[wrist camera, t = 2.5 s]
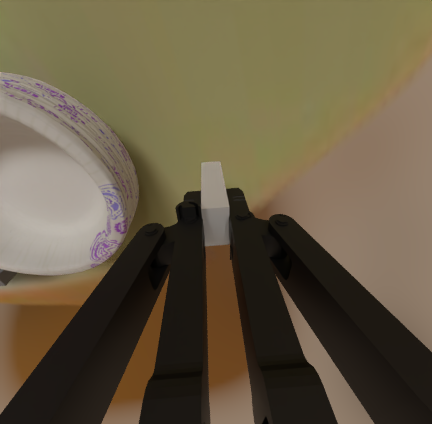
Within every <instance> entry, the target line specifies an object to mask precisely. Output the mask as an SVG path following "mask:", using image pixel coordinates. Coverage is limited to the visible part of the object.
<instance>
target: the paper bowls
mask: <svg viewBox="0 0 432 424" xmlns="http://www.w3.org/2000/svg"><path fill="white" fill-rule="evenodd" d="M138 200H139V184H138V178H137V174H136V170H135V167H134V165H133V162H132V160H131V158H130V156H129V153H128V152H127V150H126V149H125V147H124V145H123V143H122V142H121V141H120V139H119V138H118V137H117V135H116V134H115V132H113V131H112V129H111V128H110V127H109V126H108V125H107V124H106V123H105V122H103V121H102V120H101V119H100V118H99V117H98V116H97V115H96V114H95V113H94V112H92V111H91V110H90V109H89V108H87V107H86V106H84V105H83V104H82V103H80V102H79V101H78V100H76V99H74V98H73V97H71V96H70V95H68V94H67V93H65V92H63V91H61V90H59V89H57V88H55V87H53V86H51V85H49V84H47V83H45V82H43V81H40V80H37V79H34V78H31V77H27V76H22V75H18V74H13V73H6V72H0V269H3V270H7V271H12V272H18V273H24V274H33V275H65V274H72V273H77V272H82V271H85V270H88V269H91V268H94V267H96V266H98V265H100V264H101V263H103V262H105V261H106V260H107V259H109V258H110V257H111V256H112V255H113V254H114V253H115V252H116V251H117V250H118V248H119V247H120V246H121V244H122V243H123V241H124V239H125V237H126V234H127V232H128V229H129V227H130V224H131V222H132V220H133V217H134V215H135V212H136V209H137V204H138Z"/></svg>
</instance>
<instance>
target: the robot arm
mask: <svg viewBox="0 0 432 424" xmlns="http://www.w3.org/2000/svg"><path fill="white" fill-rule="evenodd" d="M176 213H177V218H178V222H177V223H176V224H174V225H172V226H170V227H166V228H164V227H163V226H162V225H161V224H158V223H151V224H147V225H145V226H143V227H142V228H141V229H140V230H139V231H138V232H137V234H136V235H135V236H134V238H133V239H132V240H131V242H130V243H129V244H128V246H127V247H126V248H125V250H124V251H123V252H122V254H121V255H120V256H119V258H118V259H117V260H116V262H115V263H114V264H113V266H112V267H111V268H110V270H109V271H108V272H107V274H106V275H105V276H104V278H103V279H102V280H101V282H100V283H99V284H98V286H97V287H96V288H95V290H94V291H93V292H92V294H91V295H90V296H89V298H88V299H87V300H86V301H85V303H84V304H83V305H82V307H81V308H80V309H79V311H78V312H77V313H76V315H75V316H74V317H73V319H72V320H71V321H70V323H69V324H68V325H67V327H66V328H65V329H64V331H63V332H62V334H61V335H60V336H59V337H58V339H57V340H56V341H55V343H54V344H53V345H52V347H51V348H50V349H49V351H48V352H47V353H46V355H45V356H44V357H43V359H42V360H41V362H40V363H39V364H38V365H37V367H36V368H35V369H34V371H33V372H32V373H31V375H30V376H29V377H28V379H27V380H26V381H25V383H24V384H23V386H22V387H21V388H20V389H19V391H18V392H17V393H16V394H15V396H14V397H13V398H12V400H11V401H10V402H9V404H8V405H7V406H6V408H5V409H4V410H3V412H2V413H1V414H0V424H101V423H102V421H103V418H104V416H105V414H106V412H107V409H108V407H109V405H110V403H111V401H112V398H113V396H114V394H115V392H116V389H117V387H118V384H119V383H120V381H121V378H122V376H123V374H124V372H125V369H126V367H127V365H128V363H129V361H130V358H131V356H132V354H133V352H134V349H135V347H136V345H137V343H138V340H139V338H140V336H141V334H142V332H143V329H144V327H145V325H146V323H147V320H148V318H149V316H150V314H151V312H152V309H153V307H154V305H155V303H156V300H157V298H158V296H159V294H160V292H161V289H162V287H163V285H164V283H165V280H166V278H167V276H168V274H169V272H170V274H169V281H168V287H167V293H166V300H165V306H164V312H163V319H162V325H161V332H160V338H159V345H158V351H157V357H156V363H155V369H154V373H153V375H152V377H151V378H150V380H149V381H148V384H147V387H146V389H145V394H144V398H143V403H142V410H141V415H140V420H139V424H210V407H209V384H208V383H209V382H208V339H207V296H206V252H205V246H214V245H229V244H230V260H232V266H233V273H234V279H235V286H236V292H237V299H238V306H239V313H240V319H241V326H242V332H243V339H244V345H245V352H246V359H247V365H248V371H249V378H250V384H251V392H252V404H253V415H254V422H255V424H338V423H337V420H336V418H335V415H334V413H333V410H332V407H331V405H330V402H329V400H328V397H327V394H326V392H325V389H324V386H323V384H322V382H321V379H320V377H319V375H318V373H317V372H316V370H315V368H314V367H313V366H312V365H311V364H309V363H308V362H307V360H306V359H305V356H304V354H303V351H302V349H301V346H300V343H299V340H298V337H297V335H296V332H295V329H294V326H293V323H292V321H291V318H290V315H289V312H288V310H287V307H286V304H285V301H284V298H283V295H282V293H281V290H280V287H279V284H278V281H277V279H276V276H277V277H278V279H279V280H280V282H281V283H282V285H283V286H284V288H285V289H286V291H287V292H288V294H289V296H290V297H291V298H292V300H293V302H294V303H295V305H296V306H297V308H298V309H299V311H300V312H301V313H302V315H303V317H304V318H305V320H306V321H307V323H308V324H309V326H310V327H311V329H312V330H313V332H314V333H315V335H316V336H317V338H318V339H319V341H320V342H321V344H322V345H323V347H324V348H325V350H326V351H327V353H328V354H329V356H330V357H331V359H332V360H333V362H334V363H335V365H336V366H337V368H338V369H339V371H340V372H341V374H342V375H343V377H344V378H345V380H346V381H347V383H348V384H349V386H350V387H351V389H352V390H353V392H354V393H355V395H356V396H357V398H358V399H359V401H360V402H361V404H362V405H363V407H364V408H365V410H366V411H367V413H368V414H369V415H370V417H371V419H372V420H373V422H374V423H375V424H432V352H431V351H430V350H429V349H428V348H427V347H426V346H425V345H424V344H423V343H422V342H421V341H419V340H418V339H417V338H416V337H415V336H414V335H413V334H412V333H411V332H410V331H409V330H408V329H407V328H406V327H405V326H404V325H403V324H402V323H401V322H400V321H399V320H398V319H397V318H395V316H393V315H392V314H391V313H390V312H389V311H388V310H387V309H386V308H385V307H384V306H383V305H382V304H381V303H380V302H379V301H378V300H377V299H376V298H375V297H374V296H373V295H372V294H370V292H368V291H367V290H366V289H365V288H364V287H363V286H362V285H361V284H360V283H359V282H358V281H357V280H356V279H355V278H354V277H353V276H352V275H351V274H350V273H349V272H348V271H347V270H345V268H343V267H342V266H341V265H340V264H339V263H338V262H337V261H336V260H335V259H334V258H333V257H332V256H331V255H330V254H329V253H328V252H327V251H325V249H324V248H323V247H322V246H321V245H320V244H319V243H317V242H316V241H315V240H314V239H313V238H312V237H311V236H310V235H309V234H308V233H307V232H306V231H305V230H304V229H303V228H302V227H301V226H300V225H299V224H297V222H296V221H295V220H294V219H292V218H291V217H289V216H287V215H283V214H276V215H273V216H271V217H270V218H269V220H262V219H258V218H255V217H254V215H253V213H252V212H250V211H249V209H248V206H247V203H246V200H245V197H244V194H243V191H242V190H240V189H239V188H231V189H226V187H225V182H224V177H223V172H222V168H221V163H220V161H217V162H201V191H192V192H187V193H186V194H185V195H184V201H183V202H181V203H179V204H178V205H177V206H176ZM275 274H276V276H275Z"/></svg>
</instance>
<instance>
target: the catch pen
mask: <svg viewBox="0 0 432 424" xmlns="http://www.w3.org/2000/svg"><path fill="white" fill-rule="evenodd" d="M17 273H18V272H12V271H7V270H3V269H0V286H6V285H7V284H8V282H9V281H10V280H11V279H12V278H13V277H14V276H15V275H16V274H17Z"/></svg>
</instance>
